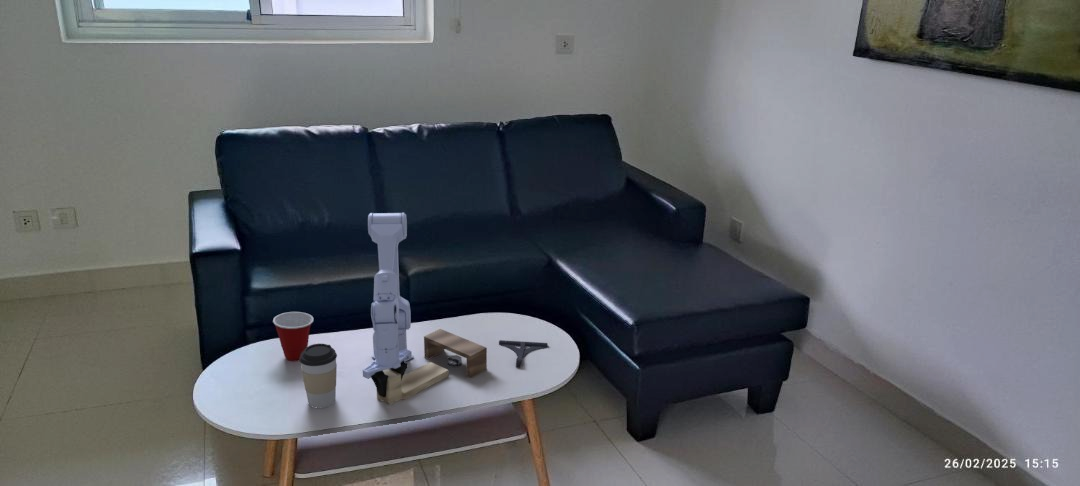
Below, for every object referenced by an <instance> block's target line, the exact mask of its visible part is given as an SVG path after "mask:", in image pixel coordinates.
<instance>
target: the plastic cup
mask: <svg viewBox="0 0 1080 486" xmlns="http://www.w3.org/2000/svg"><path fill="white" fill-rule="evenodd" d="M272 323H273V324H274V326H275V328H276V329H275V330H276V332H277V336H278V340H279V342H280V346H281V349H282V351H283V355H284V358H285V360H287V361H290V362H298V360H299V358H300V355H301V353H302V352H303V351H304V350H305V348H306V347H308V346H309V339H310V338H309V337H310V331H311V326H312V324H313V323H314V317H313V315H311V314H309V313H306V312H301V311H289V312H283V313H280V314H278V315H276V316H274V317H273V320H272Z"/></svg>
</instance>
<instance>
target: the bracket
mask: <svg viewBox="0 0 1080 486" xmlns="http://www.w3.org/2000/svg"><path fill="white" fill-rule="evenodd" d="M498 345H499V346H501V347H503V348H504V347H505V348H508V349H509V350H511V351H513V352H514V353H515V355H516V356H517V358H516V360H515V368H516V369H517V368H521V367H522V362H523V358H524V357H525V356H526V355H527V354H529V353H531V352H534V351H537V350H541V349H542V350H544V349H547V348H548V345H549V344H548V342H536V341H517V340H504V339H503V340H501V339H500V340H499V341H498ZM526 347H527V348H526Z"/></svg>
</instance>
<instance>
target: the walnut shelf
mask: <svg viewBox="0 0 1080 486" xmlns="http://www.w3.org/2000/svg"><path fill="white" fill-rule="evenodd" d="M423 345H424V346H423V348H424V351H423V353H424V358H425V359H427V360H429V359H432V358H433V357H436V356H438V355H440V354H442V353H444V352H445V350H446V351H449V352H450V353H454V355H455V354H456V355H458V356H460V357H461V358H465V359H466V377H468V378H470V379H471V378H473V377H475V376H477V375H479V374H480V373H482V372H484V371H486V370H487V367H488V363H487V361H488V360H487V359H488V358H487V353H488V351H487V349H488V348H487V347H486V346H483V345H481V344H479V343H476V342H474V341H471V340H469V339H466V338H464V337H462V336H459V335H456V334H454V333H451V332H449V331H447V330H444V329H441V328H439V329H436V330H435V331H433V332H430V333H428V334H425V335H424V336H423Z"/></svg>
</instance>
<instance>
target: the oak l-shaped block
mask: <svg viewBox="0 0 1080 486" xmlns="http://www.w3.org/2000/svg"><path fill="white" fill-rule="evenodd" d="M383 372H384V374H386V375H388V376H389V377H388V379H387V384H386V397H382V396H380V395H379V394H378V391H377V388H376V387H375V389H376V398H377V399H378V400H380V401H382V402H384V403H386V404H388V405H391V404H394V403H396V402H398V401H400V400H401V399H402V400H406V399H409V398H410V397H412V396H414V395H416V394H417V393H419V392H421V391H423V390H425V389H427V388H428V387H430V386H433V385H434V384H436V383H438V382H440V381H442V380H443V379H445V378H447V377H449V369H447V368H445V367H442V366H440V365H438V364H436V363H434V362H431V361H430V362H427V363H425V364H423V365H421V366H420V367H417V368H416V369H415V368H414V370H411V371H410V372H408V373H406V374H404V375H403V378H402V381H401V374H399V373H397V372H395V371H393V370H391V369H386V370H383Z"/></svg>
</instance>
